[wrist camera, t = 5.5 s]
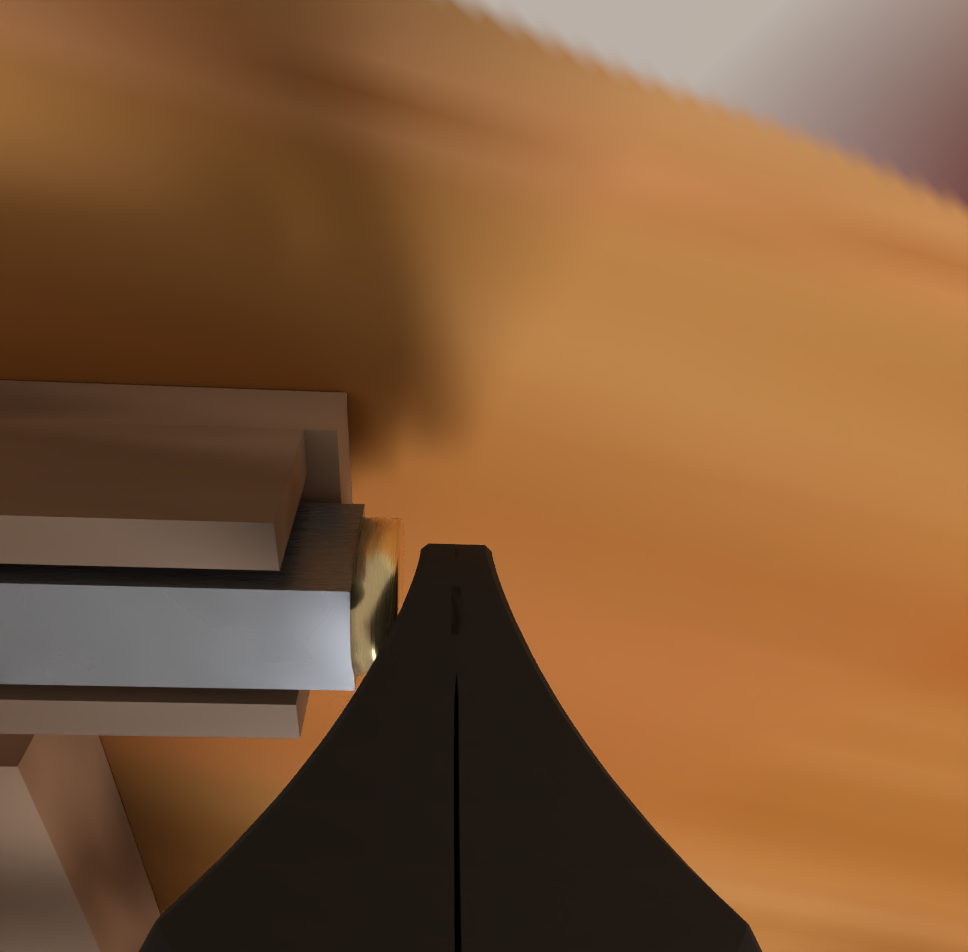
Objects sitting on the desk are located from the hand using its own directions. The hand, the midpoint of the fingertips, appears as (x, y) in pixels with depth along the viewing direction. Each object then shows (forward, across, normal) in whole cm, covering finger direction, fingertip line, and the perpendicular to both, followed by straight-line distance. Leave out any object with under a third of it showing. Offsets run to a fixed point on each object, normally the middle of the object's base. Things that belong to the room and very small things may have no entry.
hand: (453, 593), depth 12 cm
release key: (+1, +5, 0) cm, 5 cm away
